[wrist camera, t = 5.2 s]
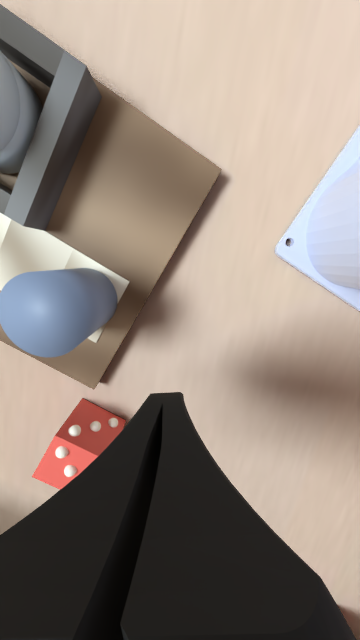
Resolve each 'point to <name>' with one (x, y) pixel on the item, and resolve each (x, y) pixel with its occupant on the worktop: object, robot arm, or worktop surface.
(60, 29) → the worktop surface
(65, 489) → the robot arm
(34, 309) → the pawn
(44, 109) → the game board
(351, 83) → the worktop surface
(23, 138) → the dome button
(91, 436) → the red die
